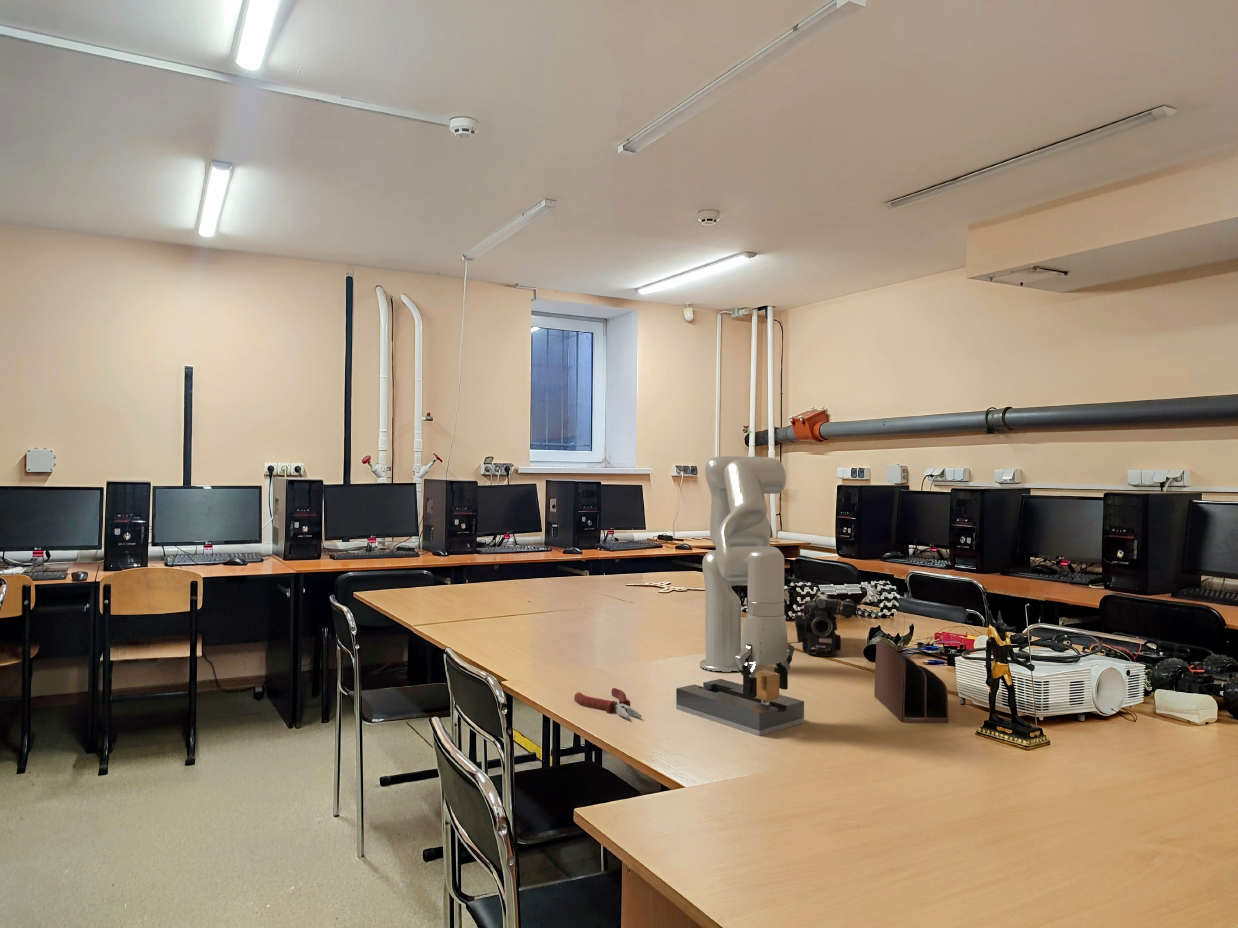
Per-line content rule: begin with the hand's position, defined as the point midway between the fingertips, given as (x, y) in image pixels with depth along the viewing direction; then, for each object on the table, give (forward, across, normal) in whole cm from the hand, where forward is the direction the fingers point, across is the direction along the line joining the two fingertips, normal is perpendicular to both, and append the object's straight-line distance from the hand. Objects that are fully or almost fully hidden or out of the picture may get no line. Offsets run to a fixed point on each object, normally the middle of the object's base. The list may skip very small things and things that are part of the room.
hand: (765, 691), depth 169 cm
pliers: (+7, +19, -30) cm, 36 cm away
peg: (+6, 0, 0) cm, 6 cm away
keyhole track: (+7, 0, -8) cm, 10 cm away
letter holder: (+7, -34, +12) cm, 37 cm away
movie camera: (+7, -72, -38) cm, 82 cm away
